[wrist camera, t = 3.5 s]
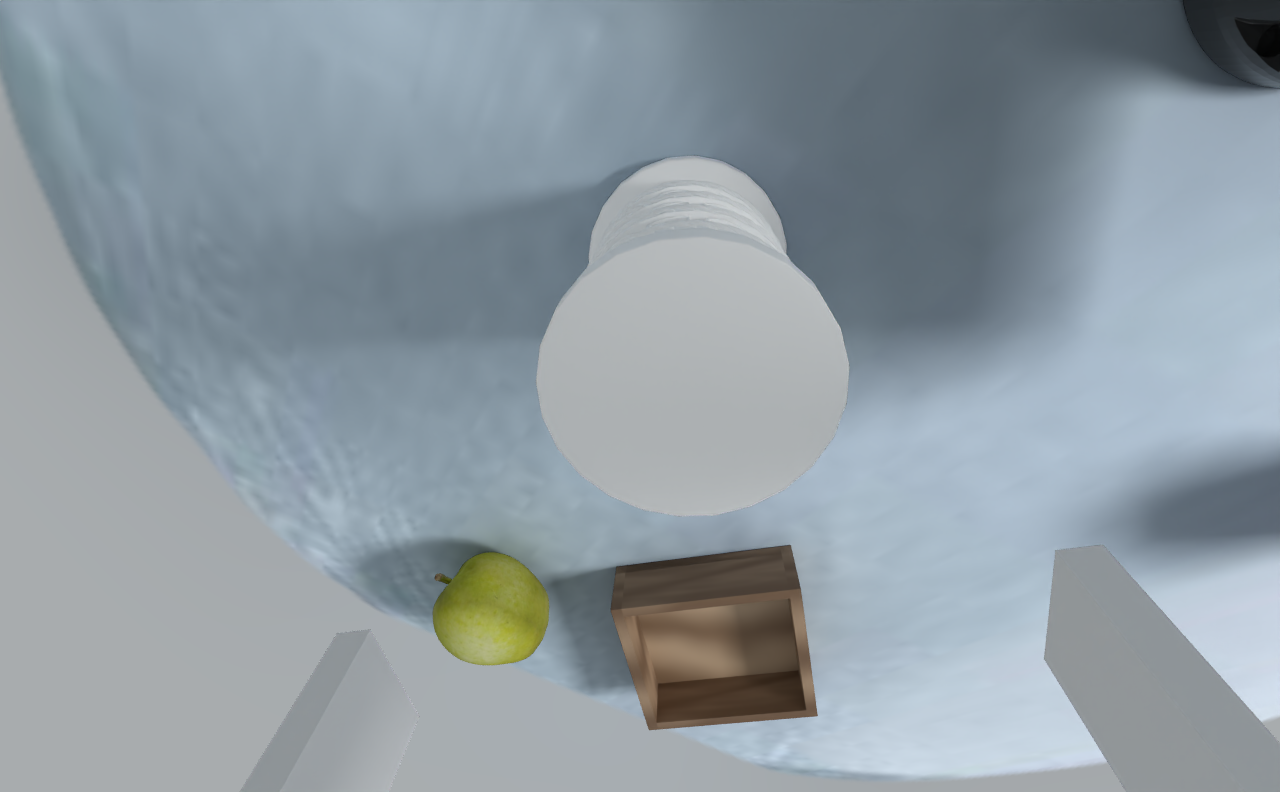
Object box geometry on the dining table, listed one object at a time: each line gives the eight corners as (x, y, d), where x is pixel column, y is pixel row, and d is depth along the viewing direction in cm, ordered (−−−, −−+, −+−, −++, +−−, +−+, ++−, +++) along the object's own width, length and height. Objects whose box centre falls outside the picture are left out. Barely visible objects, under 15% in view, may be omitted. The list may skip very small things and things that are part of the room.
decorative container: (823, 265, 38) (927, 408, 22) (677, 379, 42) (673, 570, 26) (698, 108, 34) (713, 140, 18) (551, 249, 38) (458, 377, 22)
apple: (469, 511, 48) (431, 588, 41) (574, 561, 49) (556, 643, 42) (431, 576, 51) (391, 657, 44) (531, 621, 53) (508, 706, 46)
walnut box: (616, 566, 49) (610, 610, 45) (790, 545, 47) (800, 588, 43) (651, 682, 55) (648, 730, 51) (807, 667, 53) (817, 716, 49)
